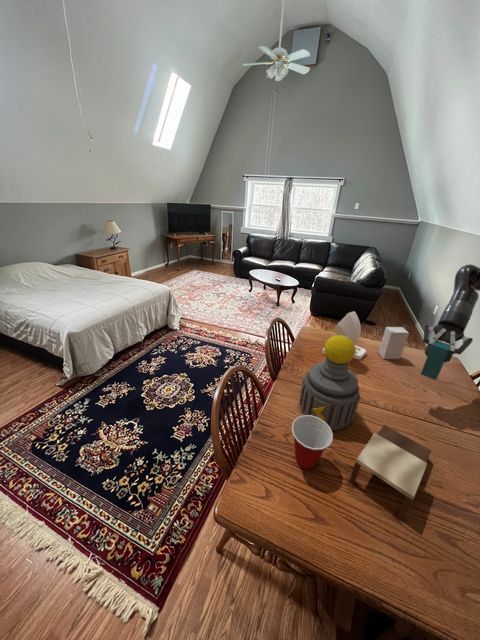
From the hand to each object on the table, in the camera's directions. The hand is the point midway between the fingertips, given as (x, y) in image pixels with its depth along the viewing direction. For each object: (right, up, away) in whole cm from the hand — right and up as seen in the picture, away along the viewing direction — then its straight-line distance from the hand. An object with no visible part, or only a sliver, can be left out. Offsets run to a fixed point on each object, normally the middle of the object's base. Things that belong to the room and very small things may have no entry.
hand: (436, 358), depth 90 cm
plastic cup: (-47, -28, -13) cm, 56 cm away
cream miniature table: (-24, -29, -15) cm, 40 cm away
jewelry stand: (-16, -4, +40) cm, 43 cm away
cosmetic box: (+7, -5, +41) cm, 41 cm away
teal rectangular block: (+1, -6, +4) cm, 8 cm away
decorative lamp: (-36, -20, +5) cm, 41 cm away
